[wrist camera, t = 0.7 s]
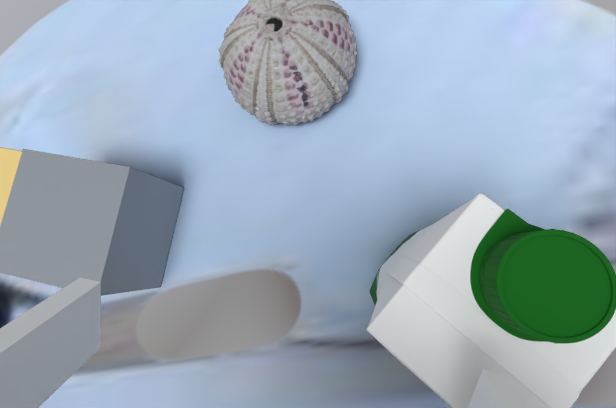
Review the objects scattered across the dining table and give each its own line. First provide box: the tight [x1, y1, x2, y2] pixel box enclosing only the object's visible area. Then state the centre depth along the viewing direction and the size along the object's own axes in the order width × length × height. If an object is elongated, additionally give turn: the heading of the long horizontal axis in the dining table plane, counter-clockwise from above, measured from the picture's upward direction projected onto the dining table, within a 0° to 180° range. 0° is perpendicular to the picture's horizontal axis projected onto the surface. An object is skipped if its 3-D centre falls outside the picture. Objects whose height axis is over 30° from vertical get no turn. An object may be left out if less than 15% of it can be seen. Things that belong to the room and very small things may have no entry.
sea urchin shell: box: [219, 0, 357, 126], centre depth 33 cm, size 13×14×8 cm
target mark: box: [0, 148, 22, 225], centre depth 40 cm, size 12×12×1 cm
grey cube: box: [0, 149, 184, 295], centre depth 33 cm, size 10×10×9 cm
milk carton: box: [367, 193, 616, 408], centre depth 22 cm, size 9×9×20 cm
